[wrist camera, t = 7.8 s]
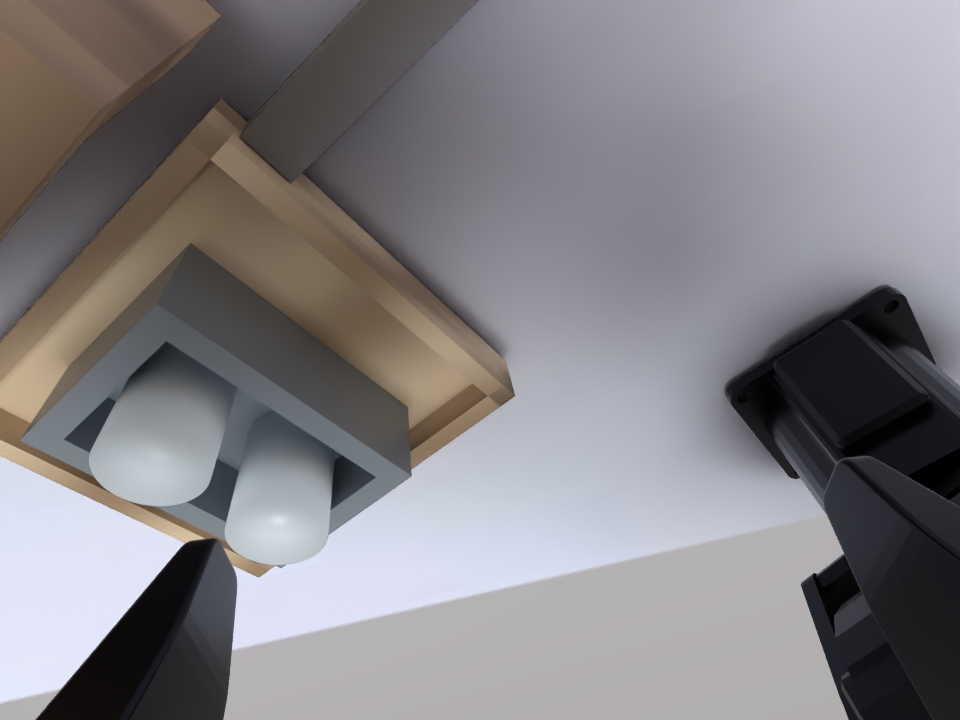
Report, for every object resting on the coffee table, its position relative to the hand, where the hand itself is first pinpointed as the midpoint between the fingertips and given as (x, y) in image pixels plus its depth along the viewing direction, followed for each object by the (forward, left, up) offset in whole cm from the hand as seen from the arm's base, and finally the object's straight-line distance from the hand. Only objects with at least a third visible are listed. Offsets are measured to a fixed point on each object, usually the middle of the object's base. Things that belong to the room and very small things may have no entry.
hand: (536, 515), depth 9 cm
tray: (+1, +8, -10) cm, 13 cm away
